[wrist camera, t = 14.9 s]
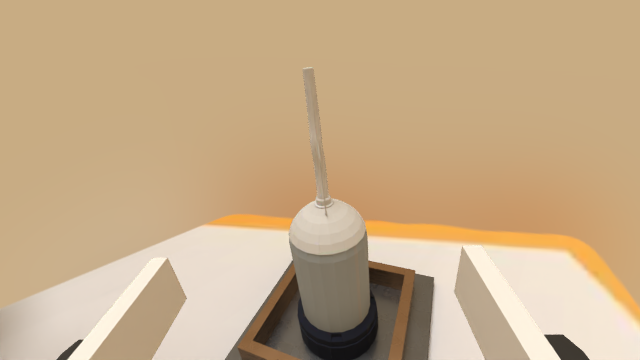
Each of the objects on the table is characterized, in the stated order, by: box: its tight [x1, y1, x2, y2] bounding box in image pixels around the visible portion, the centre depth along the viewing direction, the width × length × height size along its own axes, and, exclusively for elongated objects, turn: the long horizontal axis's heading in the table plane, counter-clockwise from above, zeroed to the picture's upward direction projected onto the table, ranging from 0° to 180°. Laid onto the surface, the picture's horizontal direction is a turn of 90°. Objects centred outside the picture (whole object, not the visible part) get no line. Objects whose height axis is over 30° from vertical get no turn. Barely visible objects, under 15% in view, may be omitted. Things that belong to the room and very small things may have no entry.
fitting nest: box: [225, 261, 434, 360], centre depth 29 cm, size 18×18×4 cm
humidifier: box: [289, 67, 378, 360], centre depth 23 cm, size 8×8×25 cm
